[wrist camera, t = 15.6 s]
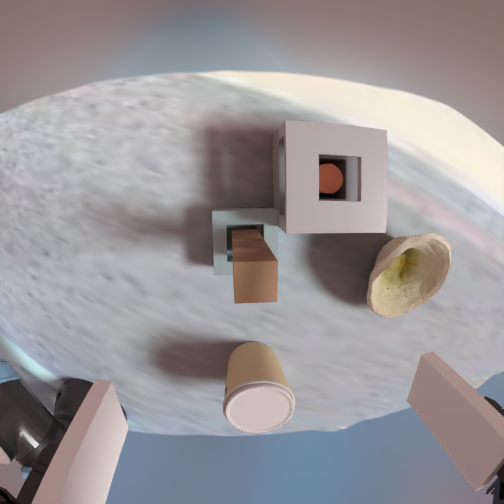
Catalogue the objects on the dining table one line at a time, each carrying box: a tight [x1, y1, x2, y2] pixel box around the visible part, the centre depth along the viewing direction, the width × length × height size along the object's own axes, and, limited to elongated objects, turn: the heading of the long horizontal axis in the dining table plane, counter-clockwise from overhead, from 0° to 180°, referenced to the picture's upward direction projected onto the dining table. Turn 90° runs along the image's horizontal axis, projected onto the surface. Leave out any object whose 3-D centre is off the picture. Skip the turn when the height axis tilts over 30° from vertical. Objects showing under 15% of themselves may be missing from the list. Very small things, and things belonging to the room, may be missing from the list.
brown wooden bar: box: [232, 227, 278, 303], centre depth 30 cm, size 3×3×18 cm
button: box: [319, 164, 343, 193], centre depth 36 cm, size 4×4×5 cm
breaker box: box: [272, 120, 388, 234], centre depth 34 cm, size 12×12×10 cm
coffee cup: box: [223, 342, 295, 433], centre depth 39 cm, size 9×9×12 cm
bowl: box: [366, 232, 451, 317], centre depth 38 cm, size 15×14×10 cm
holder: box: [212, 208, 278, 275], centre depth 38 cm, size 8×8×4 cm
